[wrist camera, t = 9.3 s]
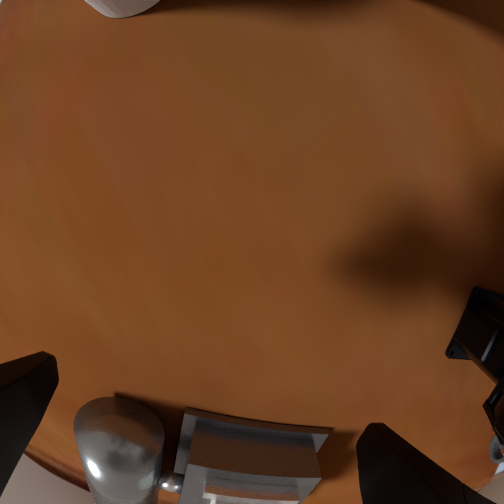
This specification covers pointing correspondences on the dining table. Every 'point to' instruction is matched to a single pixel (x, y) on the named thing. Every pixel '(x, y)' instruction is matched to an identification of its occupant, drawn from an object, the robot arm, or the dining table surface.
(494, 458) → the tankard
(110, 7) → the coffee cup
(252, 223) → the dining table surface
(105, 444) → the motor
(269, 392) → the dining table surface
